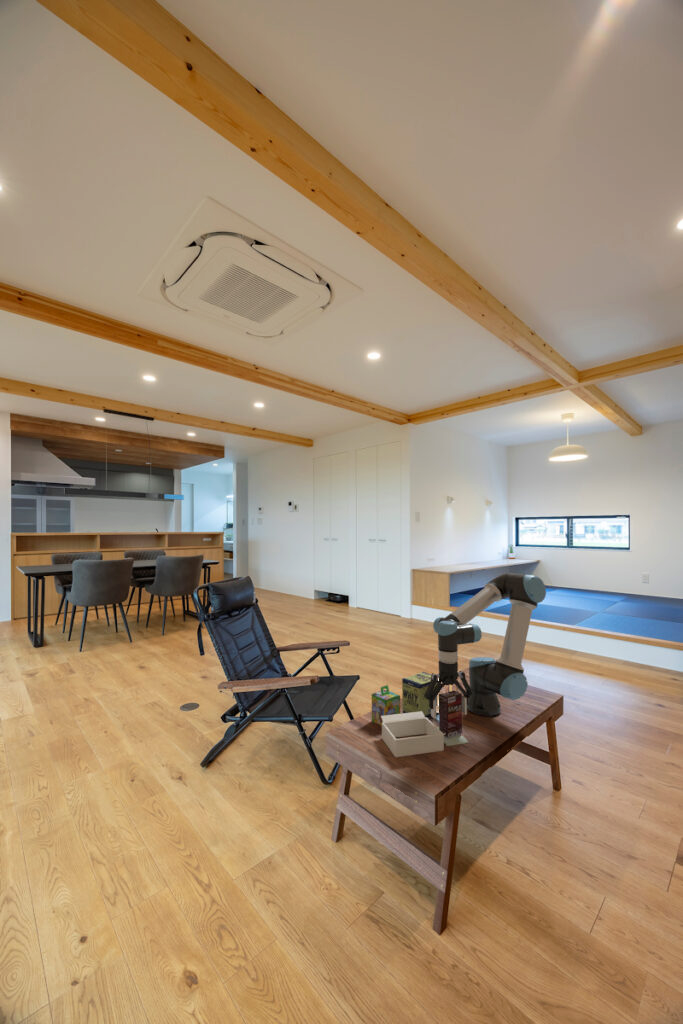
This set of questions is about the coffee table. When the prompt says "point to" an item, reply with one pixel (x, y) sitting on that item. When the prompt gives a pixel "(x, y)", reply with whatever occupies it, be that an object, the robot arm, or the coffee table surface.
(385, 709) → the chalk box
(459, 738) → the felt pad
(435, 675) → the robot arm
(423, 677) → the protein box
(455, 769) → the coffee table surface
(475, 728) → the coffee table surface
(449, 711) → the supplement box
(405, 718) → the carton
